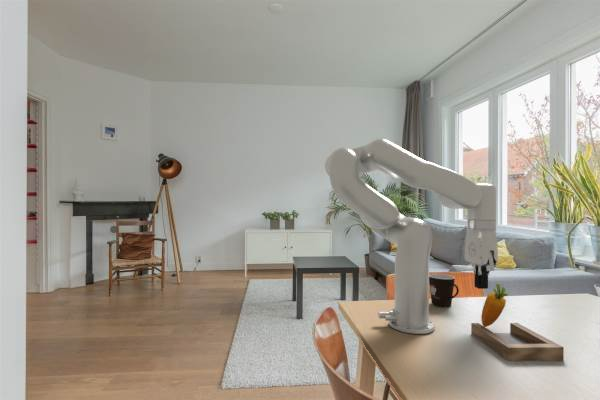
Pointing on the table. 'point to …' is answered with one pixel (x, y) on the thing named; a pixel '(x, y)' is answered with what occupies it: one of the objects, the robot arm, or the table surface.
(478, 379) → the table surface
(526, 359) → the rest
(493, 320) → the carrot
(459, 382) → the table surface
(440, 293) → the coffee mug
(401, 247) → the robot arm
